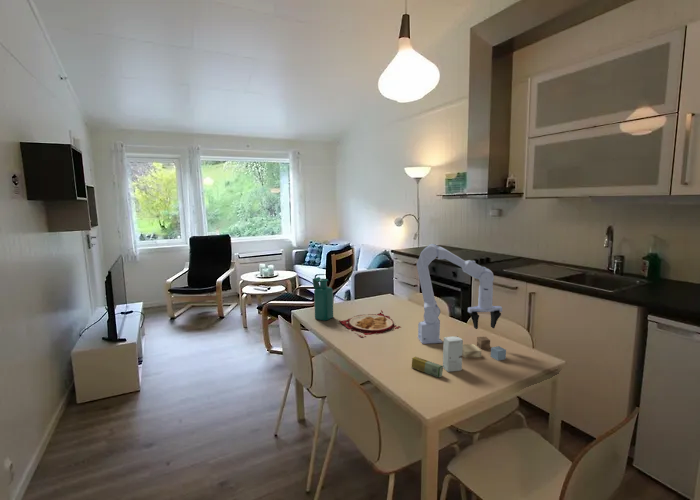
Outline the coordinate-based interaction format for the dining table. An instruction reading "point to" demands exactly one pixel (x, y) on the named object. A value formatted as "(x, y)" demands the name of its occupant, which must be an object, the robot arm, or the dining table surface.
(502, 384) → the dining table surface
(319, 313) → the green tall canister
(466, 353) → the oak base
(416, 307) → the dining table surface
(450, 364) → the skincare box
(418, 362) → the medication box
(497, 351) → the slate block
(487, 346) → the walnut block
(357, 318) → the plate with food
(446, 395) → the dining table surface
